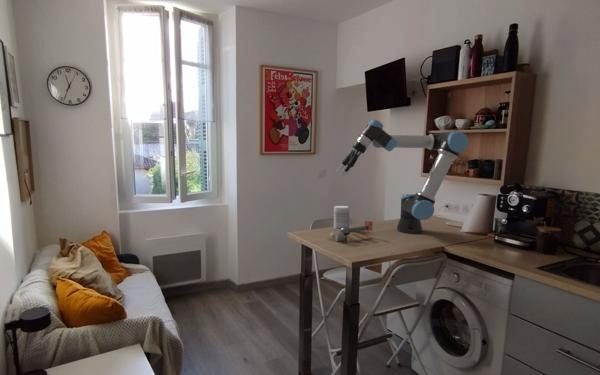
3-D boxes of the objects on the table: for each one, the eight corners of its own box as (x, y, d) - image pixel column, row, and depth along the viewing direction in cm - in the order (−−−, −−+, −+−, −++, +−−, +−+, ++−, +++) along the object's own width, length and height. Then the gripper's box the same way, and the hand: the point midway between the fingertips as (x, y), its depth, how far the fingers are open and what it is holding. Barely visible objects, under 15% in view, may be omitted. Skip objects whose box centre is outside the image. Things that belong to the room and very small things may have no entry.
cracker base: (357, 235, 203) (357, 233, 203) (383, 243, 187) (383, 241, 186) (326, 241, 191) (326, 238, 191) (350, 250, 174) (350, 247, 174)
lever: (367, 234, 200) (367, 220, 199) (373, 236, 195) (373, 221, 194) (333, 240, 186) (333, 225, 186) (339, 242, 182) (339, 226, 181)
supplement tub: (352, 230, 216) (352, 207, 214) (340, 232, 210) (340, 208, 209) (341, 227, 224) (342, 204, 222) (330, 229, 218) (330, 206, 217)
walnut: (335, 237, 193) (335, 231, 192) (341, 239, 189) (341, 233, 188) (328, 238, 190) (328, 232, 190) (334, 240, 186) (334, 234, 186)
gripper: (351, 140, 207) (330, 169, 208) (362, 140, 182) (338, 172, 183) (361, 148, 208) (340, 176, 209) (373, 148, 183) (349, 181, 184)
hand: (339, 175), depth 196 cm, fingers open, 13 cm apart
